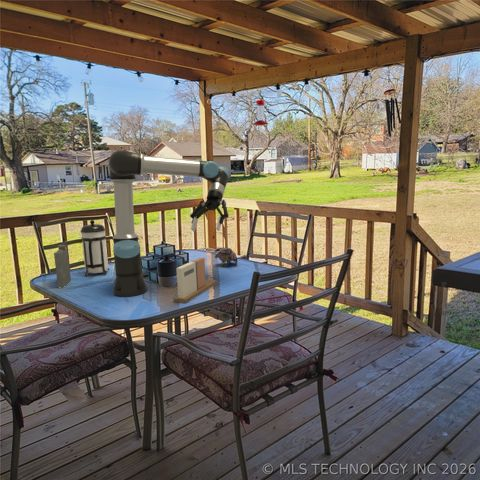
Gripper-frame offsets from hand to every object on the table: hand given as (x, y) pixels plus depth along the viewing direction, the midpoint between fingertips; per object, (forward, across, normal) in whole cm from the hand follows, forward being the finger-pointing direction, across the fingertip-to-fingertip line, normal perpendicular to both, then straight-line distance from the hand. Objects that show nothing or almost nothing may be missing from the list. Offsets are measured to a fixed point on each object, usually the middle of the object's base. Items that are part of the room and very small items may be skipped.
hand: (204, 229), depth 186 cm
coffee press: (+19, +70, -13) cm, 73 cm away
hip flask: (+32, +72, +2) cm, 79 cm away
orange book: (+26, 0, -9) cm, 27 cm away
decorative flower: (-5, +10, -46) cm, 47 cm away
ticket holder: (+28, 0, -8) cm, 30 cm away
